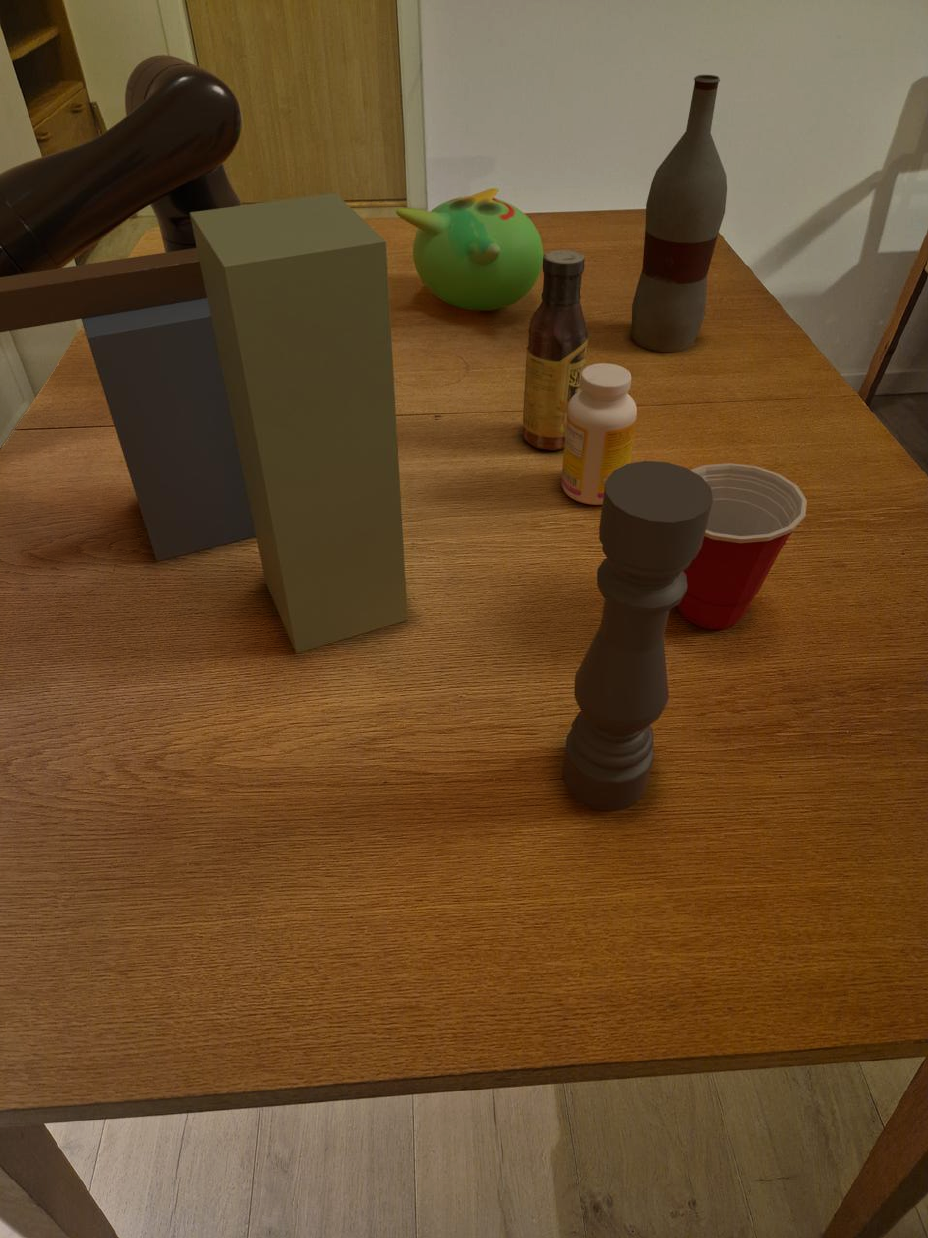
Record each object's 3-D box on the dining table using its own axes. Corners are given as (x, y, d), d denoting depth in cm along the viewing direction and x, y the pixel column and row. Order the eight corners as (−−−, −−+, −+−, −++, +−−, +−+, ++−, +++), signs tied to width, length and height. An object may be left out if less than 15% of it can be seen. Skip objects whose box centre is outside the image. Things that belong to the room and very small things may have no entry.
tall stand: (296, 653, 72) (223, 266, 50) (265, 582, 78) (189, 212, 57) (408, 620, 75) (386, 240, 53) (369, 553, 81) (335, 192, 60)
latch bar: (-8, 334, 66) (-24, 295, 64) (-10, 318, 68) (-25, 280, 66) (297, 282, 73) (292, 246, 71) (287, 270, 75) (282, 234, 73)
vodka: (690, 323, 118) (739, 67, 97) (706, 354, 111) (761, 86, 91) (622, 324, 118) (656, 67, 97) (634, 355, 111) (673, 87, 90)
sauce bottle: (574, 456, 94) (593, 272, 80) (517, 449, 95) (527, 267, 81) (580, 425, 98) (599, 247, 85) (526, 419, 99) (536, 242, 86)
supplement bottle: (630, 477, 91) (649, 364, 82) (617, 513, 86) (635, 396, 77) (568, 466, 92) (580, 353, 84) (553, 500, 88) (563, 384, 79)
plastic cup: (670, 553, 82) (693, 443, 73) (784, 592, 78) (822, 480, 69) (625, 622, 75) (645, 509, 67) (748, 668, 71) (786, 553, 63)
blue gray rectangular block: (156, 561, 81) (86, 337, 65) (139, 504, 87) (72, 288, 72) (262, 534, 84) (218, 314, 68) (237, 481, 90) (192, 269, 75)
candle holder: (555, 744, 65) (589, 460, 48) (636, 739, 65) (699, 455, 48) (569, 814, 60) (613, 528, 43) (656, 808, 61) (733, 522, 44)
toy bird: (559, 298, 124) (567, 188, 114) (499, 343, 113) (502, 226, 103) (454, 271, 131) (453, 166, 121) (388, 311, 120) (381, 199, 110)
